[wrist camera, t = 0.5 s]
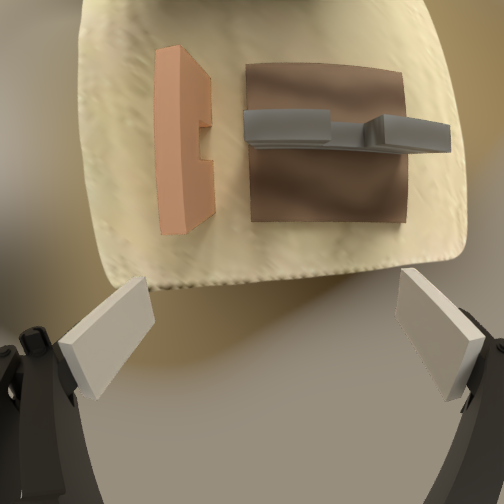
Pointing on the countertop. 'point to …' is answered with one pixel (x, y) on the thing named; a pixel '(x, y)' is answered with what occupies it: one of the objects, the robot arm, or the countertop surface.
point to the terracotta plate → (181, 141)
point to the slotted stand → (331, 143)
